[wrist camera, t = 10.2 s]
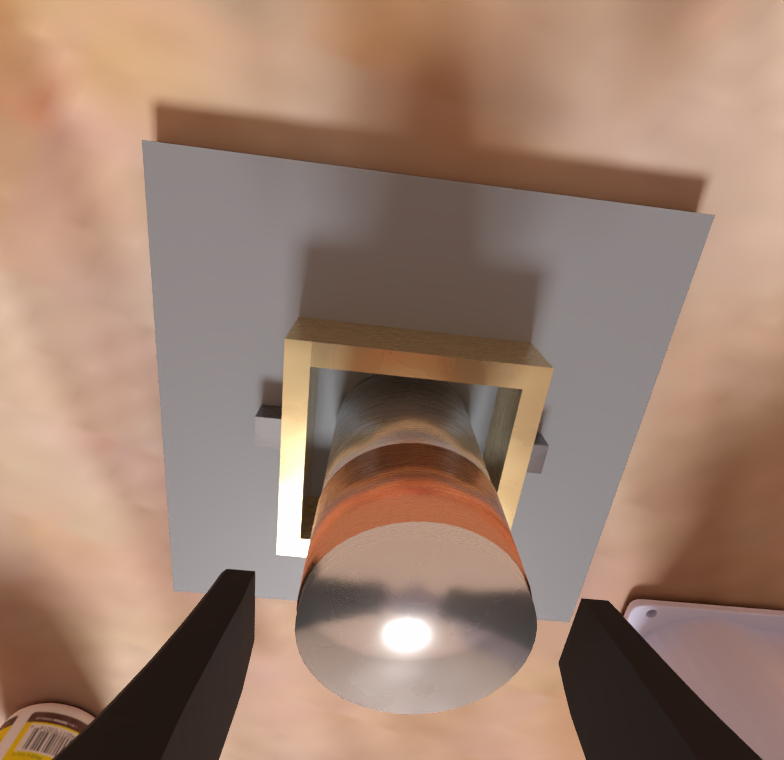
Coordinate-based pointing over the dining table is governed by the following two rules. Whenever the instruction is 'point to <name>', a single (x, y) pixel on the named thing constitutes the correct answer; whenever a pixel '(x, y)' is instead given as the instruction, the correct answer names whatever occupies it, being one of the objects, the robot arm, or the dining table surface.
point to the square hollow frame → (407, 359)
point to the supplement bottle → (41, 731)
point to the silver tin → (411, 558)
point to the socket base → (401, 310)
